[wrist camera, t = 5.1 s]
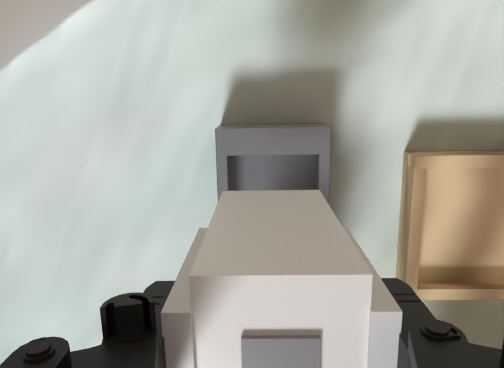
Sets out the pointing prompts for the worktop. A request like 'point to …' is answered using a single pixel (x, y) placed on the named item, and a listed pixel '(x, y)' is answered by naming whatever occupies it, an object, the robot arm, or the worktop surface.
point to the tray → (452, 225)
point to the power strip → (273, 157)
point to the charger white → (279, 285)
